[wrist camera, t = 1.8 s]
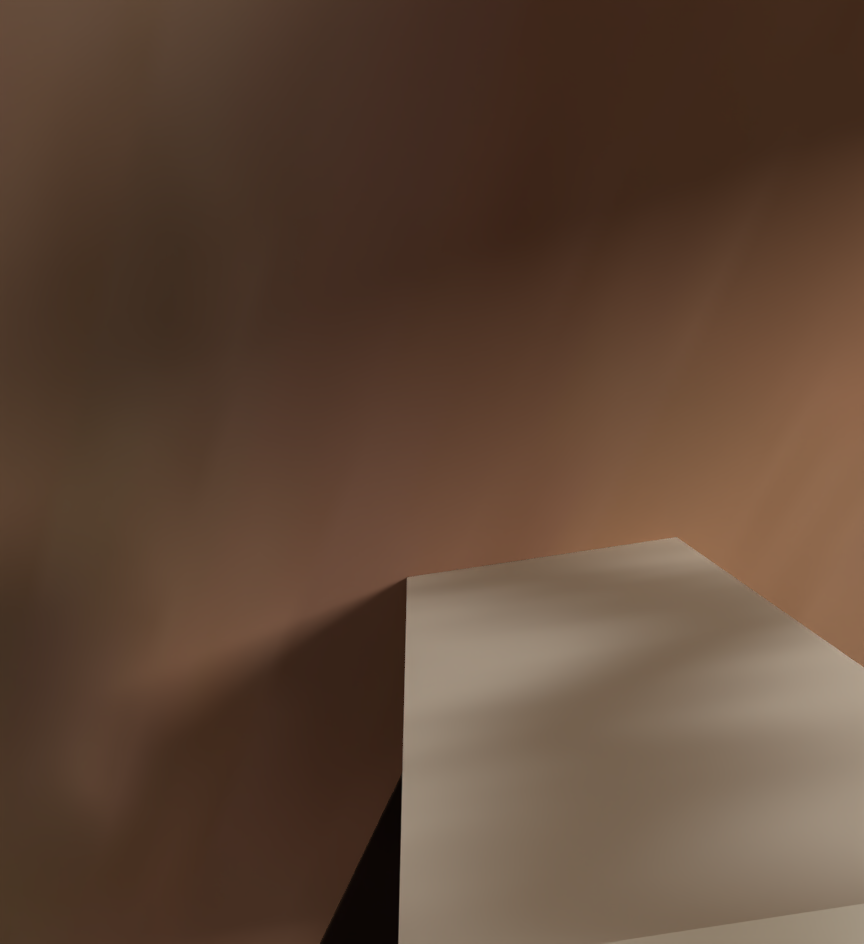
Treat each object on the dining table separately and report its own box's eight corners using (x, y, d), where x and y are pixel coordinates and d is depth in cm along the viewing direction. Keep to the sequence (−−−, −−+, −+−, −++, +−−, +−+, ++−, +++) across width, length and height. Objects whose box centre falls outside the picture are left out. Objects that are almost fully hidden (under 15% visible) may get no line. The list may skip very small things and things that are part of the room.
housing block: (676, 537, 9) (1142, 861, 3) (684, 801, 11) (1019, 1356, 5) (407, 577, 9) (397, 974, 3) (450, 836, 11) (498, 1435, 5)
